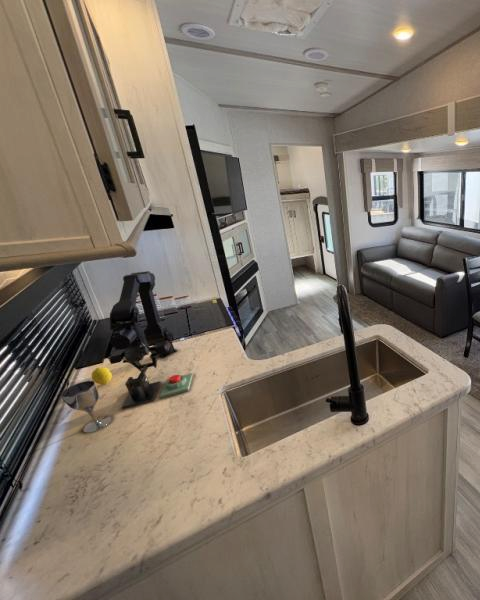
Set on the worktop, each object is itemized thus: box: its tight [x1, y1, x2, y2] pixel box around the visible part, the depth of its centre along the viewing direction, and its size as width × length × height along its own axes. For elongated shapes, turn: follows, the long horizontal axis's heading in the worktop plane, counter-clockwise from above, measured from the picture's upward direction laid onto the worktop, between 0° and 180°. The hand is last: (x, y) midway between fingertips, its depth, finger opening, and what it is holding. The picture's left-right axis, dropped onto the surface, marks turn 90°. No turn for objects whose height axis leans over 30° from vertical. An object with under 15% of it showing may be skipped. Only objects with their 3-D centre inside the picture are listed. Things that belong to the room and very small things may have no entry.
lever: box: [131, 361, 154, 388], centre depth 120 cm, size 15×4×2 cm, turn 25°
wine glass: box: [60, 380, 112, 434], centre depth 101 cm, size 8×8×15 cm
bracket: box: [121, 373, 161, 410], centre depth 116 cm, size 12×9×8 cm
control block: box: [159, 373, 194, 399], centre depth 121 cm, size 11×9×3 cm
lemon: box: [91, 366, 113, 385], centre depth 123 cm, size 6×6×8 cm
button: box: [168, 374, 181, 384], centre depth 120 cm, size 4×4×2 cm
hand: (148, 369), depth 127 cm, fingers closed on lever, 4 cm apart
